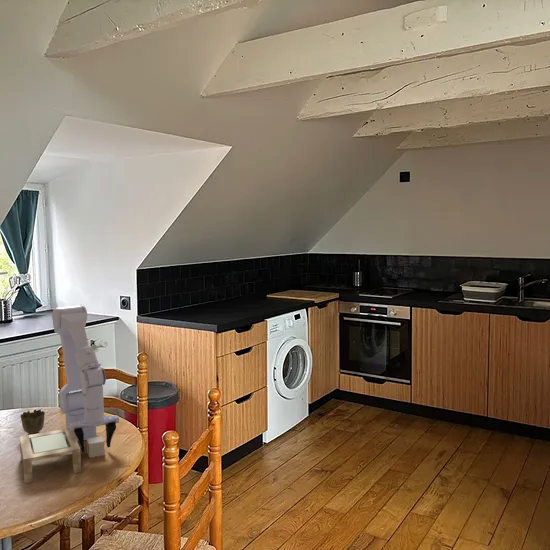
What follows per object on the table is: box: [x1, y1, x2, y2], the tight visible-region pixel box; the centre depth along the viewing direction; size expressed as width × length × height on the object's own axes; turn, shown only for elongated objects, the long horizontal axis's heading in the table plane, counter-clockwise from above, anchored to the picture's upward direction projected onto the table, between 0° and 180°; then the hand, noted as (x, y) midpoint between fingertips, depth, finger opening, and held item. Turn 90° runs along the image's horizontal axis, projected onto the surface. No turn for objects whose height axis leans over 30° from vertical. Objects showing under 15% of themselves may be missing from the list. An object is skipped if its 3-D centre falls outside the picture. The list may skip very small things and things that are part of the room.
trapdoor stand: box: [19, 428, 82, 484], centre depth 168 cm, size 15×18×7 cm
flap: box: [30, 433, 70, 456], centre depth 168 cm, size 10×12×3 cm
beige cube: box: [86, 435, 106, 458], centre depth 177 cm, size 4×4×4 cm
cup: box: [20, 409, 46, 435], centre depth 190 cm, size 8×7×8 cm
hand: (95, 448), depth 177 cm, fingers open, 7 cm apart
